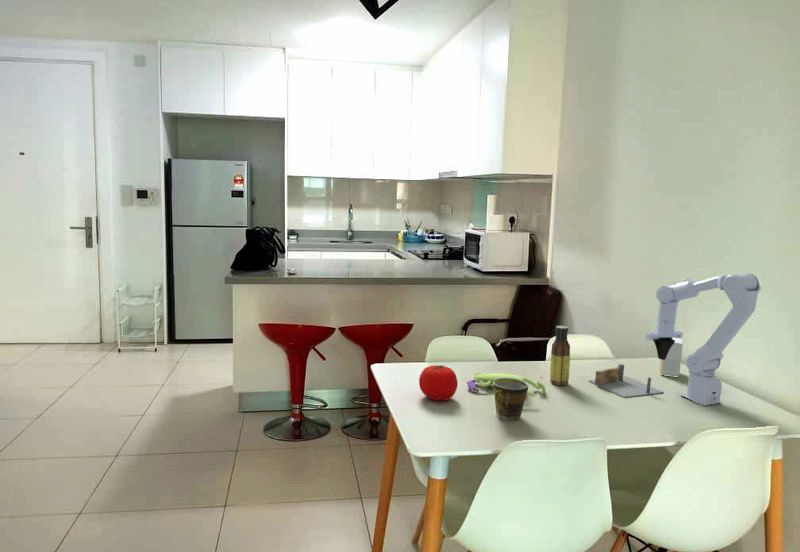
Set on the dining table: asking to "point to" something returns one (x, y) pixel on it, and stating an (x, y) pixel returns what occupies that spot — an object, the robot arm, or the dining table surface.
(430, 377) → the tomato
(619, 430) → the dining table surface
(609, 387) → the gate frame
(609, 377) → the board
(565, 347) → the sauce bottle
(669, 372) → the small box
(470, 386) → the figurine
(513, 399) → the ceramic cup
